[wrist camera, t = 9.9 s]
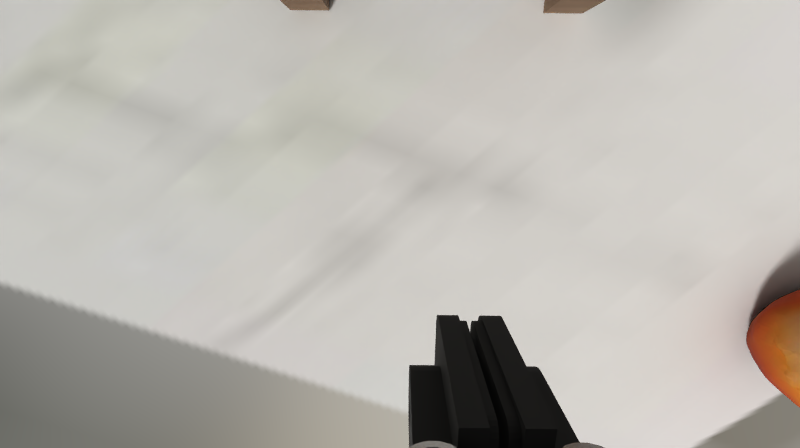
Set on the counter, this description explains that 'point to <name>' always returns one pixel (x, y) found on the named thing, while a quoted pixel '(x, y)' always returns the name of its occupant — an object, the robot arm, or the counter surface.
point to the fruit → (778, 344)
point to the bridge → (554, 3)
